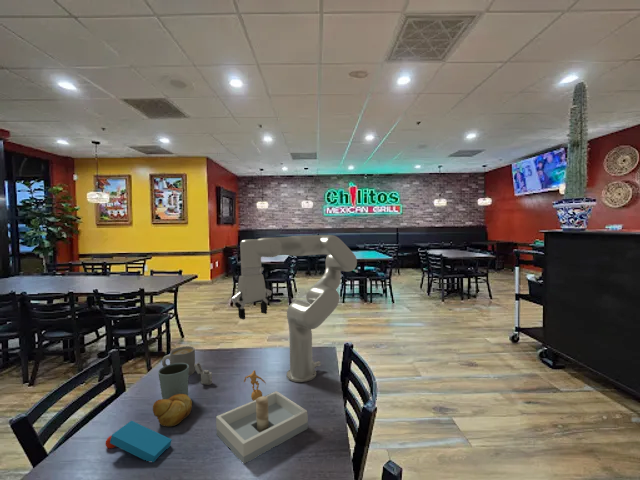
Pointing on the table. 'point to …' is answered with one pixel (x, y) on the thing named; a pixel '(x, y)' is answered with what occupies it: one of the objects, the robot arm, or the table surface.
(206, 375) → the lighter
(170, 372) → the green cup
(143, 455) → the lever
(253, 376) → the figurine
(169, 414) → the bread roll
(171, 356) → the coffee mug
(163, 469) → the table surface
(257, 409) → the peg
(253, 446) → the tray
